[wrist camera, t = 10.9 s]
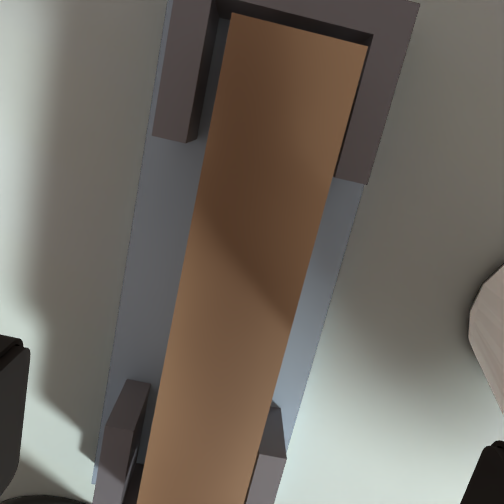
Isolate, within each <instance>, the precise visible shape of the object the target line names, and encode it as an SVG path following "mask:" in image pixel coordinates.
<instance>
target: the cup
mask: <svg viewBox="0 0 504 504" xmlns="http://www.w3.org/2000/svg"><path fill="white" fill-rule="evenodd" d="M468 335H469V336H468V339H469V341H470V344H471V346H472V349H473V351H474V353H475V356H476V358H477V360H478V363H479V364H480V366H481V368H482V370H483V373H484V375H485V377H486V379H487V381H488V383H489V386H490V388H491V390H492V392H493V394H494V396H495V398H496V401H497V403H498V405H499V407H500V409H501V411H502V414H503V416H504V264H503V265H502V266H501V267H500V268H498V269H497V270H496V271H495V272H494V273H493V274H492V275H491V276H490V277H489V278H488V279H487V280H486V281H485V282H484V283H483V284H482V285H481V287H480V290H479V292H478V294H477V296H476V298H475V300H474V302H473V304H472V306H471V308H470V318H469V333H468Z"/></svg>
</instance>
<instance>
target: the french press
mask: <svg viewBox="0 0 504 504" xmlns="http://www.w3.org/2000/svg"><path fill="white" fill-rule="evenodd" d="M0 504H84V503H80V502H77V501H73V500H70V499H66V498H60V497H52V496H25V497H20V498H15V499H10V500H6V501H4V502H1V503H0Z"/></svg>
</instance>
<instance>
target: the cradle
mask: <svg viewBox="0 0 504 504" xmlns="http://www.w3.org/2000/svg"><path fill="white" fill-rule="evenodd" d="M419 7H420V4H419V3H415V2H412V1H408V0H168V1H167V8H166V14H165V20H164V27H163V33H162V39H161V46H160V52H159V58H158V65H157V71H156V77H155V84H154V90H153V96H152V103H151V109H150V115H149V122H148V128H147V134H146V141H145V147H144V154H143V160H142V166H141V173H140V179H139V185H138V192H137V198H136V204H135V211H134V217H133V223H132V230H131V236H130V242H129V249H128V255H127V261H126V268H125V274H124V280H123V287H122V293H121V300H120V306H119V312H118V319H117V325H116V331H115V338H114V344H113V350H112V357H111V363H110V369H109V376H108V382H107V388H106V395H105V401H104V407H103V414H102V420H101V427H100V433H99V439H98V446H97V452H96V458H95V465H94V471H93V477H92V484H96V485H95V491H94V497H93V503H92V504H137V499H138V494H139V489H140V484H141V479H142V474H143V469H144V463H145V458H146V453H147V448H148V443H149V438H150V432H151V427H152V422H153V417H154V412H155V407H156V401H157V396H158V391H159V386H160V381H161V376H162V370H163V365H164V360H165V355H166V350H167V345H168V339H169V334H170V329H171V324H172V319H173V314H174V309H175V303H176V298H177V293H178V288H179V283H180V278H181V272H182V267H183V262H184V257H185V252H186V247H187V241H188V236H189V231H190V226H191V221H192V216H193V210H194V205H195V200H196V195H197V190H198V185H199V179H200V174H201V169H202V164H203V159H204V154H205V148H206V143H207V138H208V133H209V128H210V123H211V118H212V112H213V107H214V102H215V97H216V92H217V87H218V81H219V76H220V71H221V66H222V61H223V56H224V50H225V45H226V40H227V35H228V30H229V25H230V19H231V14H232V12H233V13H237V14H241V15H245V16H249V17H253V18H257V19H261V20H265V21H269V22H273V23H277V24H281V25H285V26H289V27H293V28H297V29H301V30H305V31H309V32H313V33H316V34H320V35H324V36H328V37H332V38H336V39H340V40H344V41H348V42H352V43H356V44H360V45H364V46H368V49H367V52H366V56H365V60H364V63H363V67H362V71H361V75H360V78H359V82H358V86H357V89H356V93H355V97H354V100H353V104H352V108H351V111H350V115H349V119H348V122H347V126H346V130H345V133H344V137H343V141H342V144H341V148H340V152H339V155H338V159H337V163H336V166H335V170H334V174H333V177H332V181H331V185H330V188H329V192H328V196H327V199H326V203H325V207H324V210H323V214H322V218H321V222H320V225H319V229H318V233H317V236H316V240H315V244H314V247H313V251H312V255H311V258H310V262H309V266H308V269H307V273H306V277H305V280H304V284H303V288H302V291H301V295H300V299H299V302H298V306H297V310H296V313H295V317H294V321H293V324H292V328H291V332H290V335H289V339H288V343H287V346H286V350H285V354H284V357H283V361H282V365H281V369H280V372H279V376H278V380H277V383H276V387H275V391H274V394H273V398H272V402H271V405H270V409H269V413H268V416H267V420H266V424H265V427H264V431H263V435H262V438H261V442H260V446H259V449H258V453H257V457H256V460H255V464H254V468H253V471H252V475H251V479H250V482H249V486H248V490H247V493H246V497H245V501H244V504H274V501H275V498H276V494H277V491H278V487H279V484H280V480H281V477H282V474H283V470H284V467H285V463H286V460H287V457H286V452H287V449H288V445H289V442H290V438H291V435H292V432H293V428H294V425H295V421H296V418H297V414H298V411H299V408H300V404H301V401H302V397H303V394H304V390H305V387H306V384H307V380H308V377H309V373H310V370H311V366H312V363H313V359H314V356H315V353H316V349H317V346H318V342H319V339H320V335H321V332H322V329H323V325H324V322H325V318H326V315H327V311H328V308H329V305H330V301H331V298H332V294H333V291H334V287H335V284H336V281H337V277H338V274H339V270H340V267H341V263H342V260H343V257H344V253H345V250H346V246H347V243H348V239H349V236H350V233H351V229H352V226H353V222H354V219H355V215H356V212H357V209H358V205H359V202H360V198H361V195H362V191H363V188H364V185H367V184H368V180H369V177H370V174H371V170H372V167H373V163H374V160H375V157H376V153H377V150H378V146H379V143H380V140H381V136H382V133H383V129H384V126H385V122H386V119H387V116H388V112H389V109H390V105H391V102H392V99H393V95H394V92H395V88H396V85H397V82H398V78H399V75H400V71H401V68H402V64H403V61H404V58H405V54H406V51H407V47H408V44H409V41H410V37H411V34H412V30H413V27H414V24H415V20H416V17H417V13H418V10H419Z"/></svg>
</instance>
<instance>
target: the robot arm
mask: <svg viewBox="0 0 504 504" xmlns="http://www.w3.org/2000/svg"><path fill="white" fill-rule="evenodd" d="M29 364H30V350H29V348H25V347H23V342H22V340H21V339H19V338H14V337H9V336H5V335H0V496H1V495H2V493H3V492H4V490H5V489H6V488H7V486H8V485H9V483H10V482H11V480H12V479H13V477H14V475H15V472H16V470H17V467H18V463H19V456H20V447H21V438H22V428H23V419H24V410H25V401H26V392H27V382H28V373H29ZM460 504H504V441H500V440H499V441H495V442H494V443H493V444H492V445H491V446H486V447H485V448H484V449H483V451H482V453H481V456H480V458H479V460H478V463H477V465H476V467H475V470H474V472H473V475H472V477H471V479H470V482H469V484H468V486H467V489H466V491H465V494H464V496H463V498H462V501H461V503H460Z"/></svg>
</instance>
